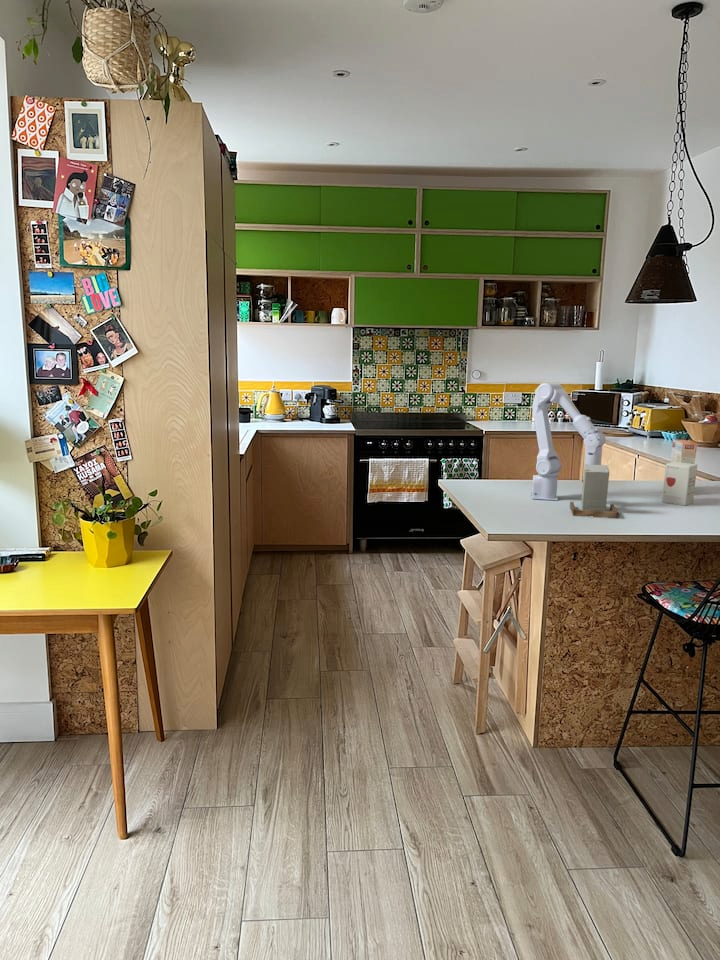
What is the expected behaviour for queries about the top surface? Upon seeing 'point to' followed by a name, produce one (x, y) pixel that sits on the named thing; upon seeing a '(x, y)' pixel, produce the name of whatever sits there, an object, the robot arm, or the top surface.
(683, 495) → the supplement box
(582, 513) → the walnut bay
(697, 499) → the top surface
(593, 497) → the skincare box
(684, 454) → the cracker box
